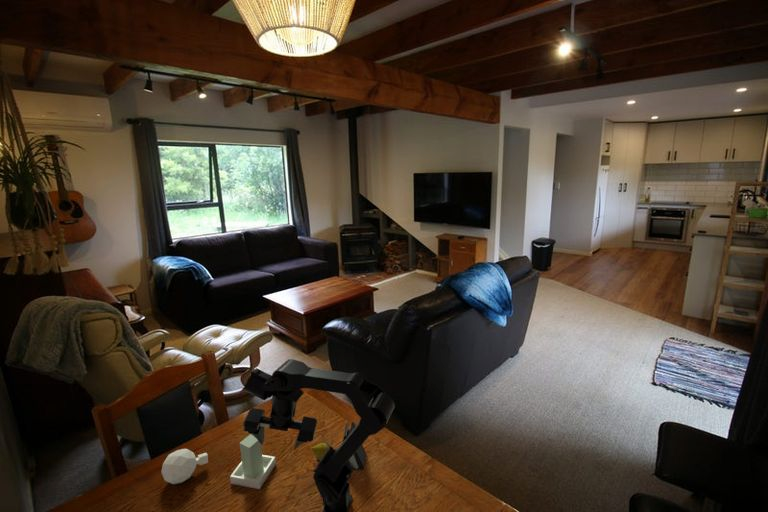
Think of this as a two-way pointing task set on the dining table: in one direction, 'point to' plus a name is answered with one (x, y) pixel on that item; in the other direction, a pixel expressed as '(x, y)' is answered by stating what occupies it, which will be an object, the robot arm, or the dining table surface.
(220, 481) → the dining table surface
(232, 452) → the dining table surface
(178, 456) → the perfume bottle
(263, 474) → the tray
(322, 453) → the drill bit
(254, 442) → the block
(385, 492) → the dining table surface
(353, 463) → the phone stand
